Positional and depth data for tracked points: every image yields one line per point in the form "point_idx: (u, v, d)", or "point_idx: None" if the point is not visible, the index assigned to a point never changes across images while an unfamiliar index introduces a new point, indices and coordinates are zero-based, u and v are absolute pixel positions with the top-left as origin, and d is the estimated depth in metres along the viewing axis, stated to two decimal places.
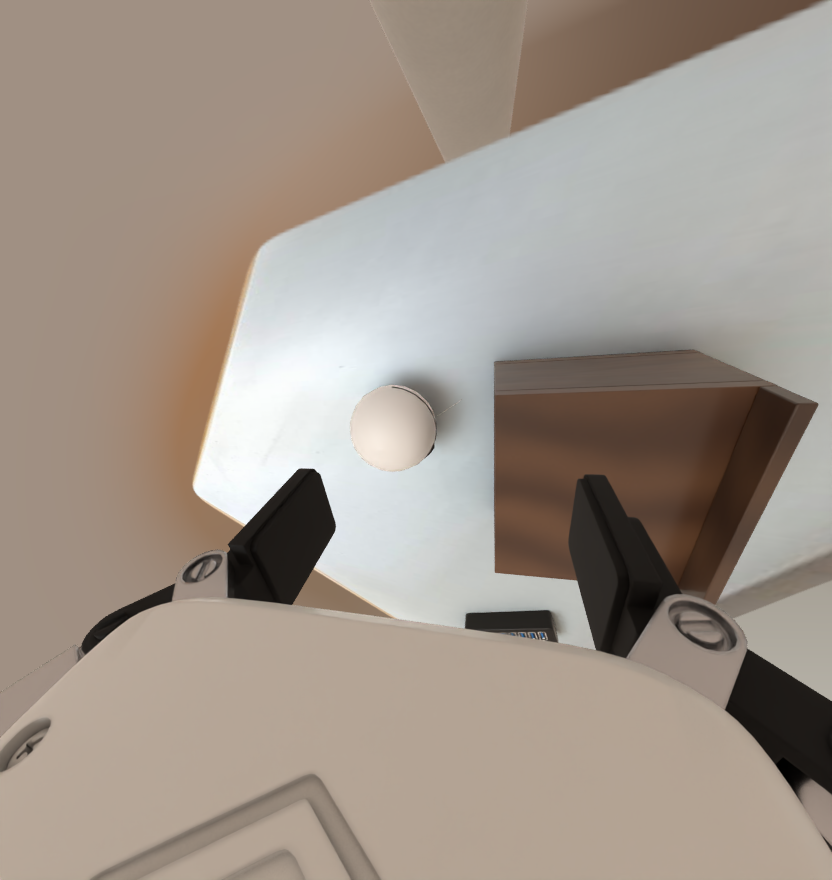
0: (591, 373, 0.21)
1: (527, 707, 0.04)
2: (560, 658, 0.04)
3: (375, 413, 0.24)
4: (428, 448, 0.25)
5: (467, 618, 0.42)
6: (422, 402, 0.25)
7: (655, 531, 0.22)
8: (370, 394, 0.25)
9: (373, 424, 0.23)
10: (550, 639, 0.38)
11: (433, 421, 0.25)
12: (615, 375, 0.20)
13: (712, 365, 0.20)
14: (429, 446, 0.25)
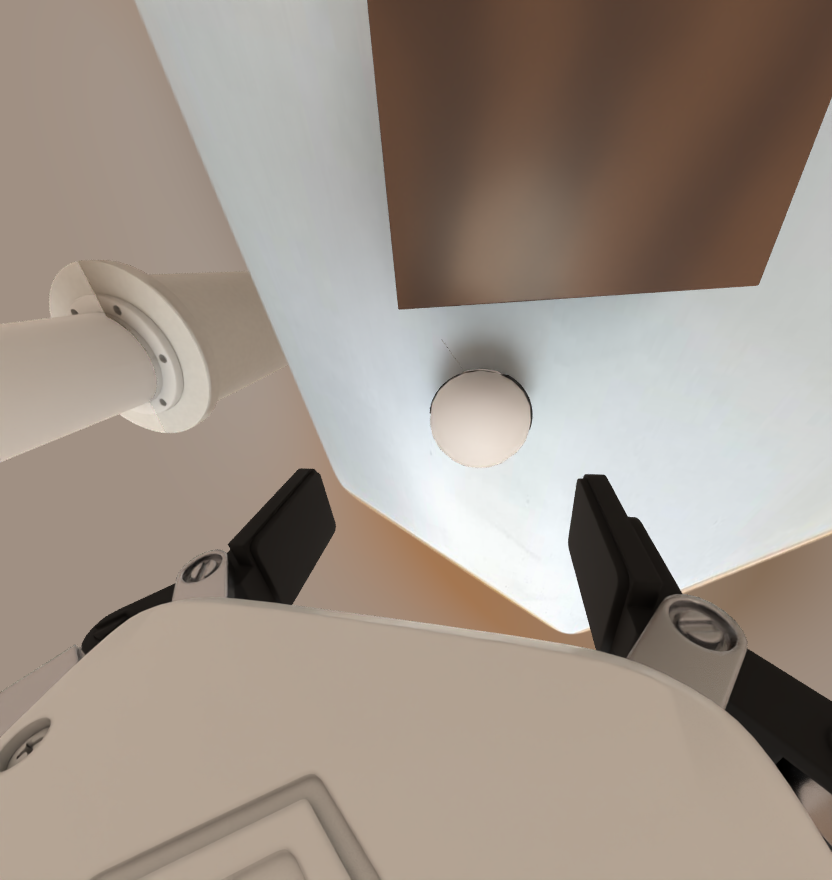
0: None
1: (527, 707, 0.04)
2: (560, 658, 0.04)
3: (440, 438, 0.22)
4: (496, 384, 0.21)
5: None
6: (446, 383, 0.23)
7: None
8: None
9: (449, 443, 0.21)
10: None
11: (469, 373, 0.22)
12: None
13: None
14: (494, 382, 0.21)
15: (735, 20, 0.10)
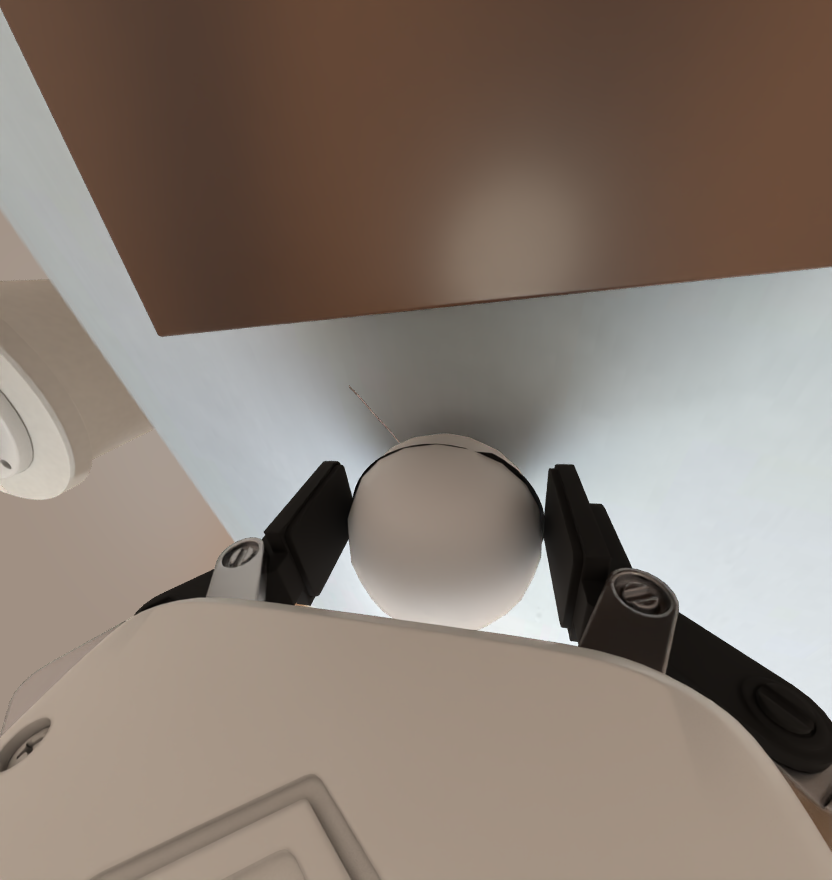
0: None
1: (527, 707, 0.04)
2: (560, 658, 0.04)
3: (361, 581, 0.11)
4: (467, 482, 0.09)
5: None
6: (373, 467, 0.12)
7: None
8: None
9: (374, 599, 0.10)
10: None
11: (414, 450, 0.11)
12: None
13: None
14: (462, 478, 0.10)
15: None
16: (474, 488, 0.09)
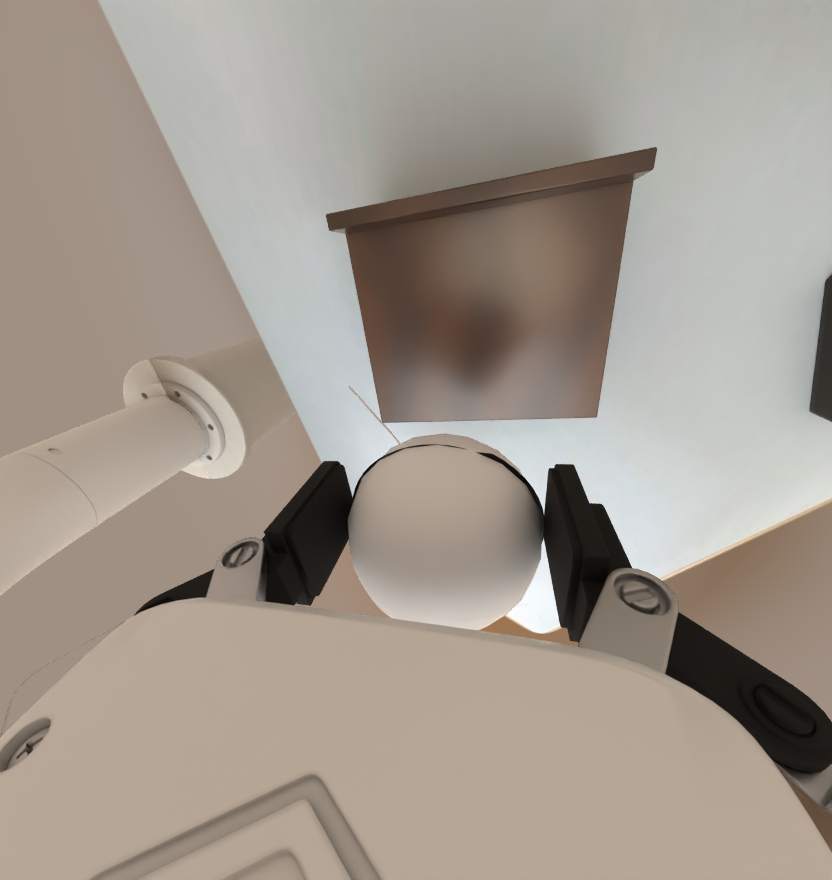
0: None
1: (527, 707, 0.04)
2: (560, 658, 0.04)
3: (361, 581, 0.11)
4: (467, 482, 0.09)
5: (817, 413, 0.25)
6: (373, 467, 0.12)
7: (515, 255, 0.19)
8: None
9: (374, 599, 0.10)
10: None
11: (414, 451, 0.11)
12: None
13: None
14: (462, 478, 0.10)
15: (551, 297, 0.19)
16: (474, 488, 0.09)
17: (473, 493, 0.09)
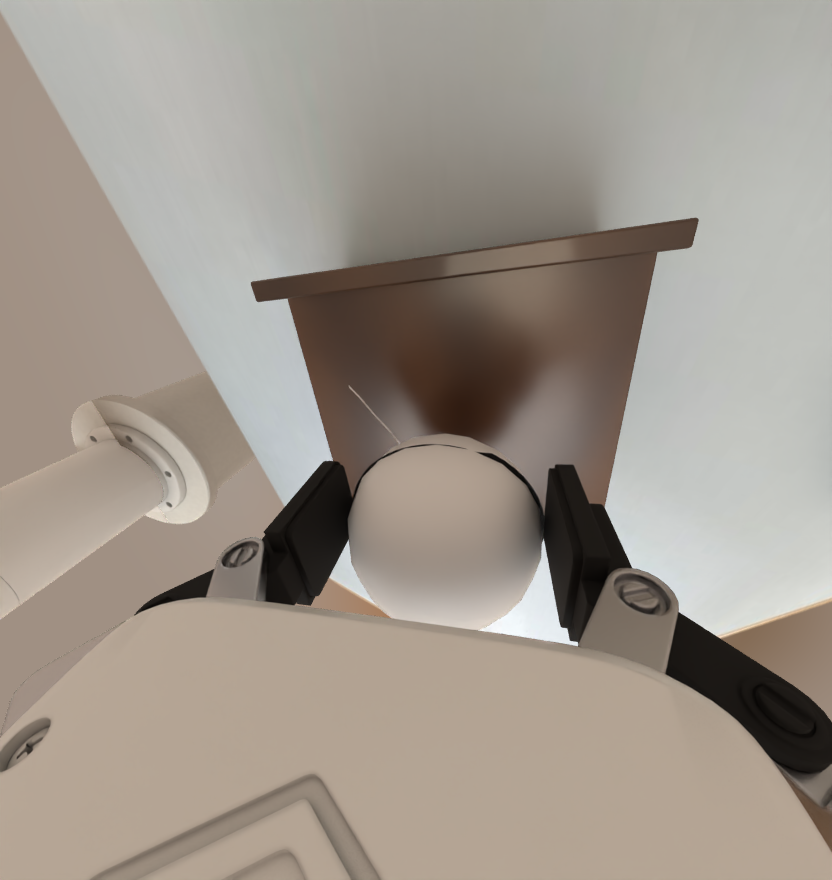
0: None
1: (527, 707, 0.04)
2: (560, 658, 0.04)
3: (361, 581, 0.11)
4: (467, 482, 0.09)
5: None
6: (373, 467, 0.12)
7: (501, 332, 0.14)
8: None
9: (374, 599, 0.10)
10: None
11: (414, 450, 0.11)
12: None
13: None
14: (462, 478, 0.10)
15: (547, 383, 0.15)
16: (474, 488, 0.09)
17: (473, 493, 0.09)
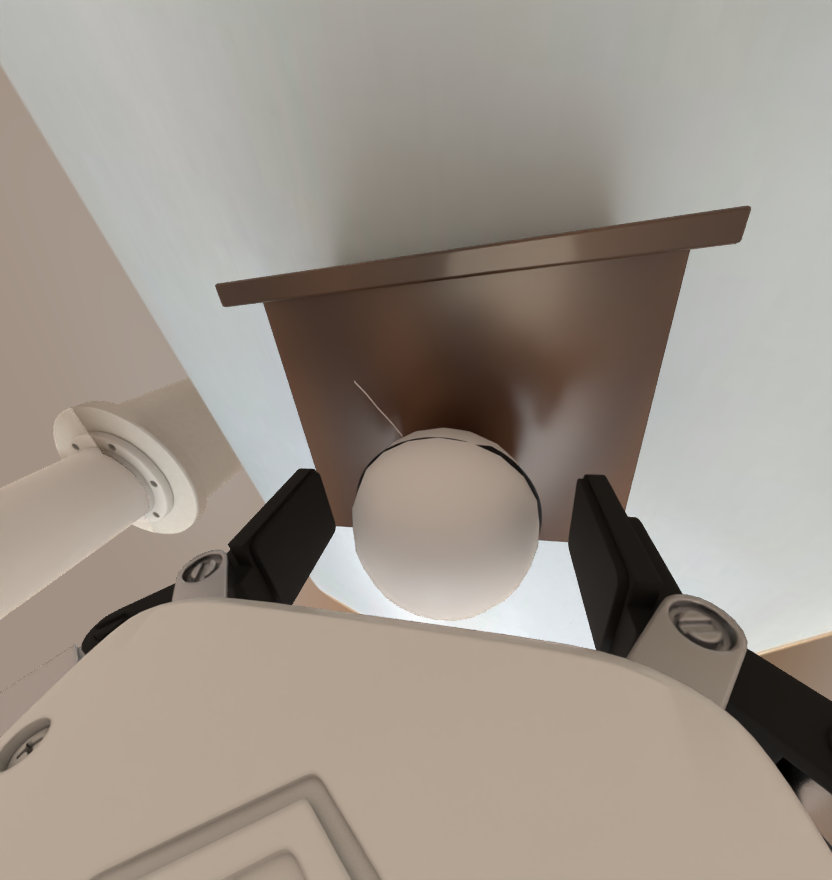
0: None
1: (527, 707, 0.04)
2: (561, 658, 0.04)
3: (365, 568, 0.11)
4: (466, 473, 0.10)
5: None
6: (377, 459, 0.12)
7: (504, 341, 0.13)
8: None
9: (378, 585, 0.11)
10: None
11: (416, 443, 0.11)
12: None
13: None
14: (462, 469, 0.10)
15: (556, 399, 0.13)
16: (473, 479, 0.10)
17: (472, 483, 0.10)
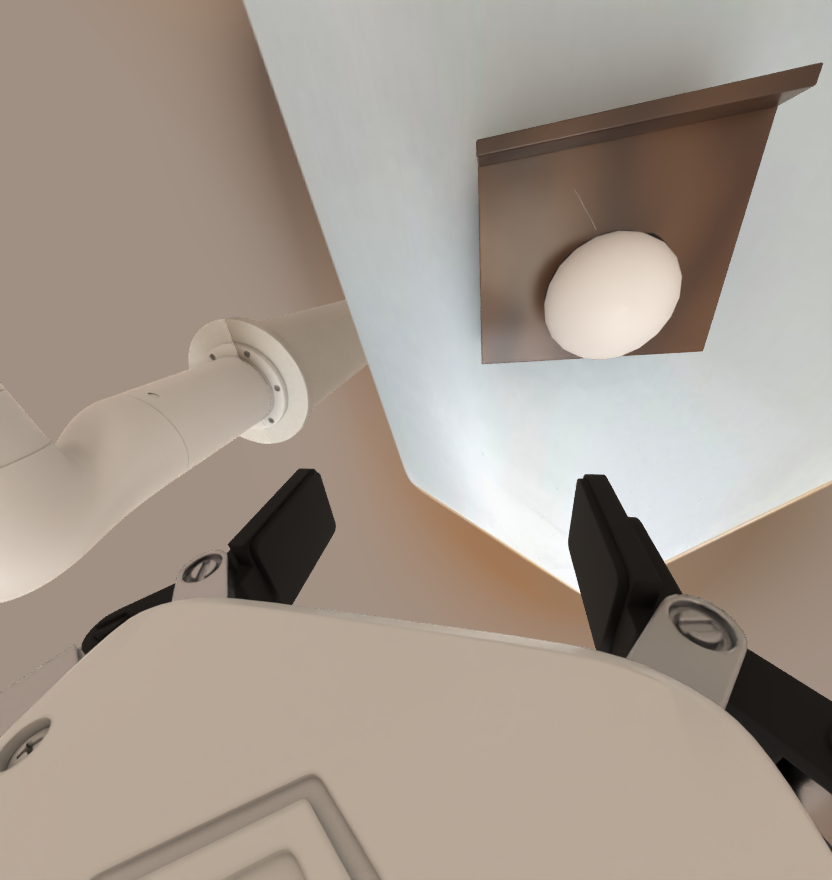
0: None
1: (527, 707, 0.04)
2: (561, 658, 0.04)
3: (570, 314, 0.18)
4: (647, 236, 0.17)
5: None
6: (571, 254, 0.19)
7: (647, 184, 0.20)
8: (549, 326, 0.21)
9: (585, 316, 0.18)
10: None
11: (604, 235, 0.18)
12: None
13: None
14: (644, 235, 0.17)
15: (676, 227, 0.20)
16: (652, 239, 0.17)
17: (652, 240, 0.17)
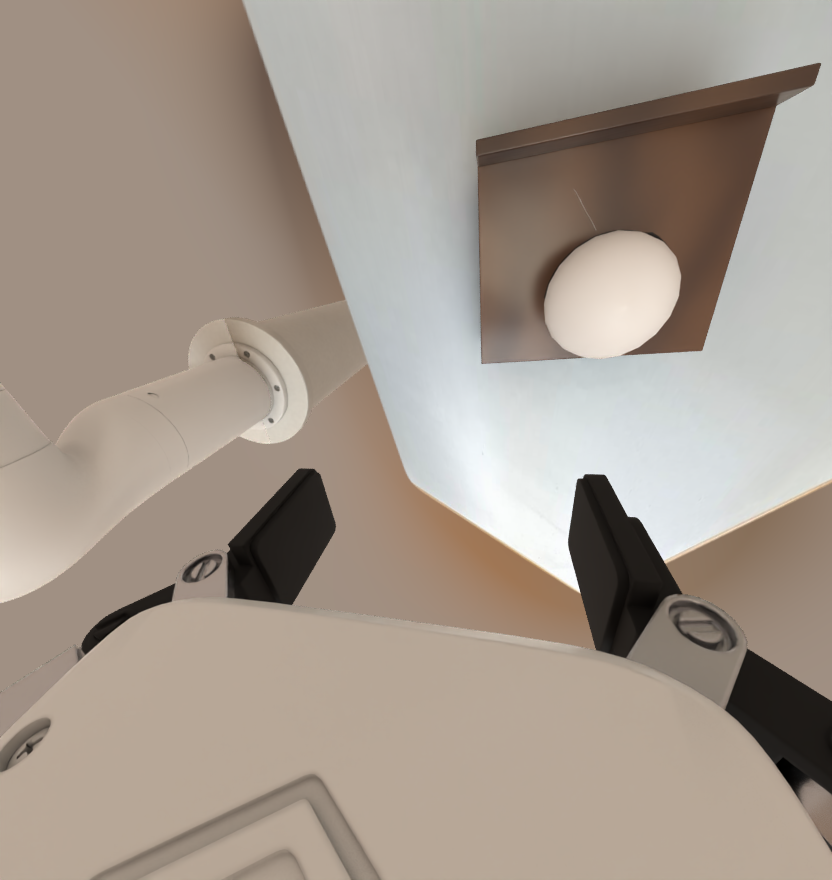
0: None
1: (527, 707, 0.04)
2: (561, 658, 0.04)
3: (570, 314, 0.18)
4: (647, 236, 0.17)
5: None
6: (571, 253, 0.19)
7: (646, 184, 0.20)
8: (549, 326, 0.21)
9: (584, 316, 0.18)
10: None
11: (603, 234, 0.18)
12: None
13: None
14: (644, 235, 0.17)
15: (675, 227, 0.20)
16: (651, 239, 0.17)
17: (652, 240, 0.17)
